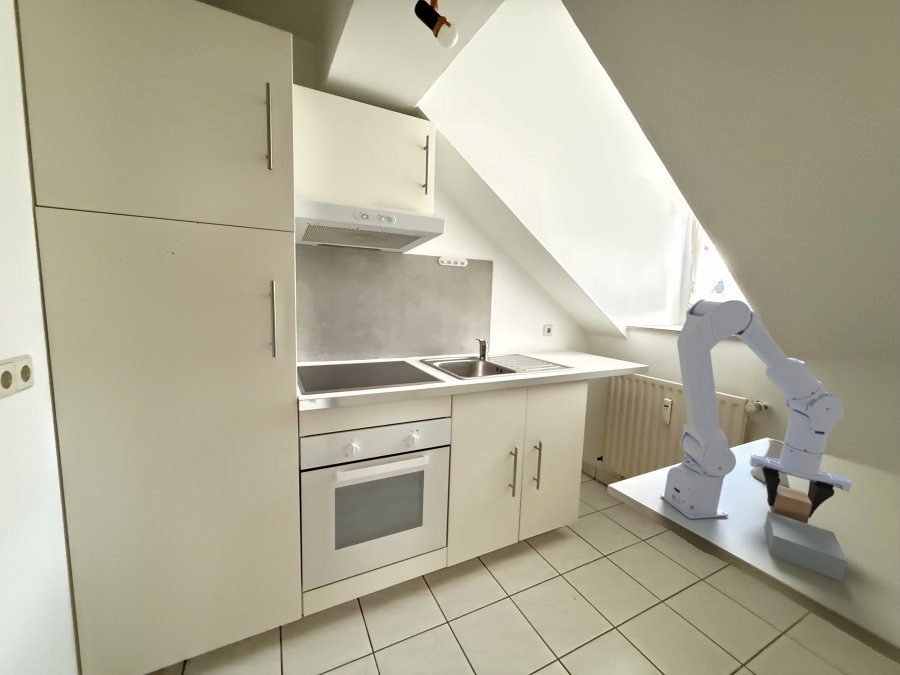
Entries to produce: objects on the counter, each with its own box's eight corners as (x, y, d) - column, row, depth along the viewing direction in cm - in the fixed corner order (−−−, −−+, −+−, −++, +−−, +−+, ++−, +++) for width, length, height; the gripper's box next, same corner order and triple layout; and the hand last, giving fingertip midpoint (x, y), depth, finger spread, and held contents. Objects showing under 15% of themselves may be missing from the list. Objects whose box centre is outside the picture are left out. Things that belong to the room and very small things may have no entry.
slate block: (841, 583, 58) (847, 561, 58) (769, 555, 64) (773, 535, 63) (828, 551, 65) (833, 532, 65) (763, 529, 71) (768, 511, 70)
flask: (796, 489, 86) (805, 451, 84) (761, 484, 87) (770, 446, 86) (776, 474, 93) (784, 438, 91) (744, 469, 94) (752, 434, 93)
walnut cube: (806, 527, 70) (812, 504, 69) (772, 516, 73) (778, 494, 72) (800, 514, 74) (805, 492, 74) (768, 504, 77) (773, 483, 76)
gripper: (848, 451, 71) (831, 513, 73) (753, 430, 78) (741, 487, 81) (862, 465, 65) (843, 532, 67) (758, 441, 73) (744, 502, 75)
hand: (788, 509), depth 73 cm, fingers closed on walnut cube, 5 cm apart
